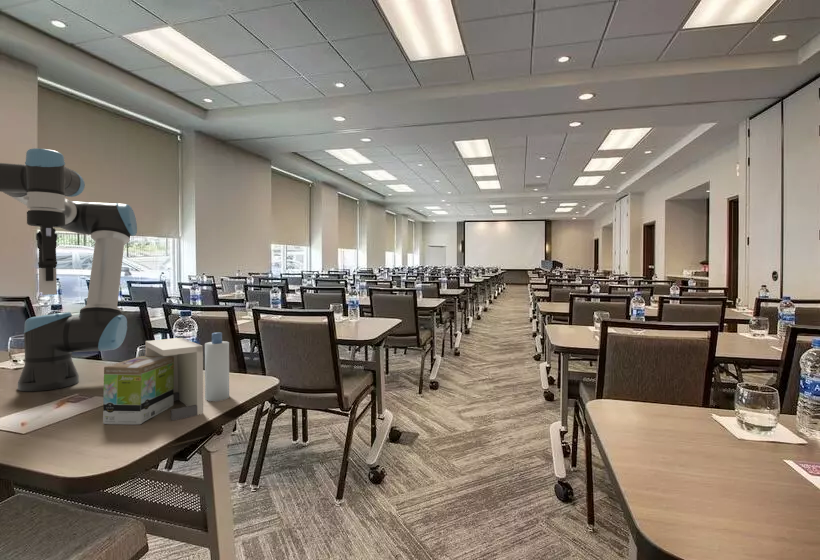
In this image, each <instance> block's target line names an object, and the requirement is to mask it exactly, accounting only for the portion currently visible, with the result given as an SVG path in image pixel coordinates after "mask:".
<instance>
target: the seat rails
mask: <svg viewBox="0 0 820 560" xmlns="http://www.w3.org/2000/svg"><path fill="white" fill-rule="evenodd" d="M173 395H174V400H173V402H175V401H180V400H179V393H178V392H175V393H173ZM195 415H196V416H198V415H197V405H191V406H186V405H185V406H182V407H177V408H172V409H170V420H171V421H176V420H182V419H186V417H187V418H190V417H195Z"/></svg>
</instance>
